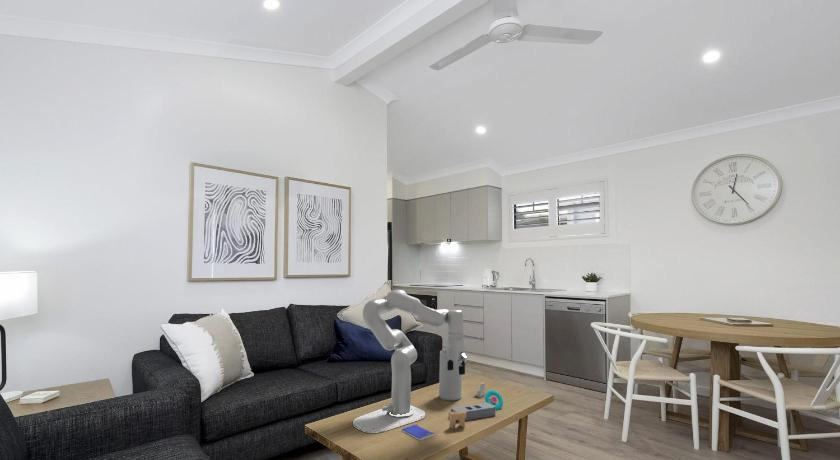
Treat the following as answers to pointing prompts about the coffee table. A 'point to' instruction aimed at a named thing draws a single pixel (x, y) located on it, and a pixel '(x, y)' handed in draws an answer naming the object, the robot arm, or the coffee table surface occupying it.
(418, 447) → the coffee table surface
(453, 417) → the clip
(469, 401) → the coffee table surface
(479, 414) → the grey slotted block
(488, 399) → the ornament
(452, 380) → the cylinder vase
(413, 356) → the robot arm
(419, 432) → the hard drive
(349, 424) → the coffee table surface
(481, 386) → the architectural model
